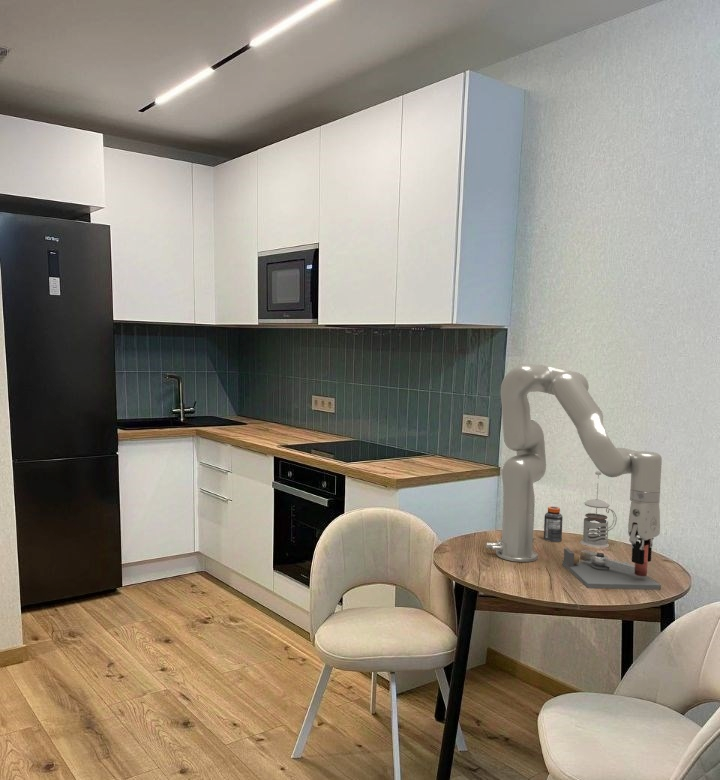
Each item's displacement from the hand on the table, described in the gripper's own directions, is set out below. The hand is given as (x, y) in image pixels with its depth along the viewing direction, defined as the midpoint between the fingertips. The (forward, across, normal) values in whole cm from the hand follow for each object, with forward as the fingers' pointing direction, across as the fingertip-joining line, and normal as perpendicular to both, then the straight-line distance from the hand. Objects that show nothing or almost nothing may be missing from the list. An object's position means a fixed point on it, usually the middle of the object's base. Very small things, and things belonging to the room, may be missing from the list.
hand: (641, 561), depth 177 cm
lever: (+4, 0, +8) cm, 9 cm away
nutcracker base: (+6, -2, +8) cm, 11 cm away
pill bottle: (+6, +19, +39) cm, 44 cm away
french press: (+6, +27, +27) cm, 39 cm away
